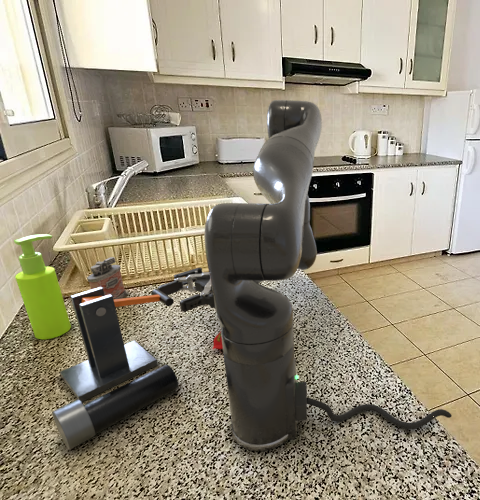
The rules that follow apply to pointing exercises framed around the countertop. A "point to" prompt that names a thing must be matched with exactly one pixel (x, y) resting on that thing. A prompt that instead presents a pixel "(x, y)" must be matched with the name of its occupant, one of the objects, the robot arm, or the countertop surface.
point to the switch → (139, 299)
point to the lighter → (107, 278)
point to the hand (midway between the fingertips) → (169, 299)
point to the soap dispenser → (41, 292)
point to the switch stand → (103, 348)
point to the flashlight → (112, 406)
